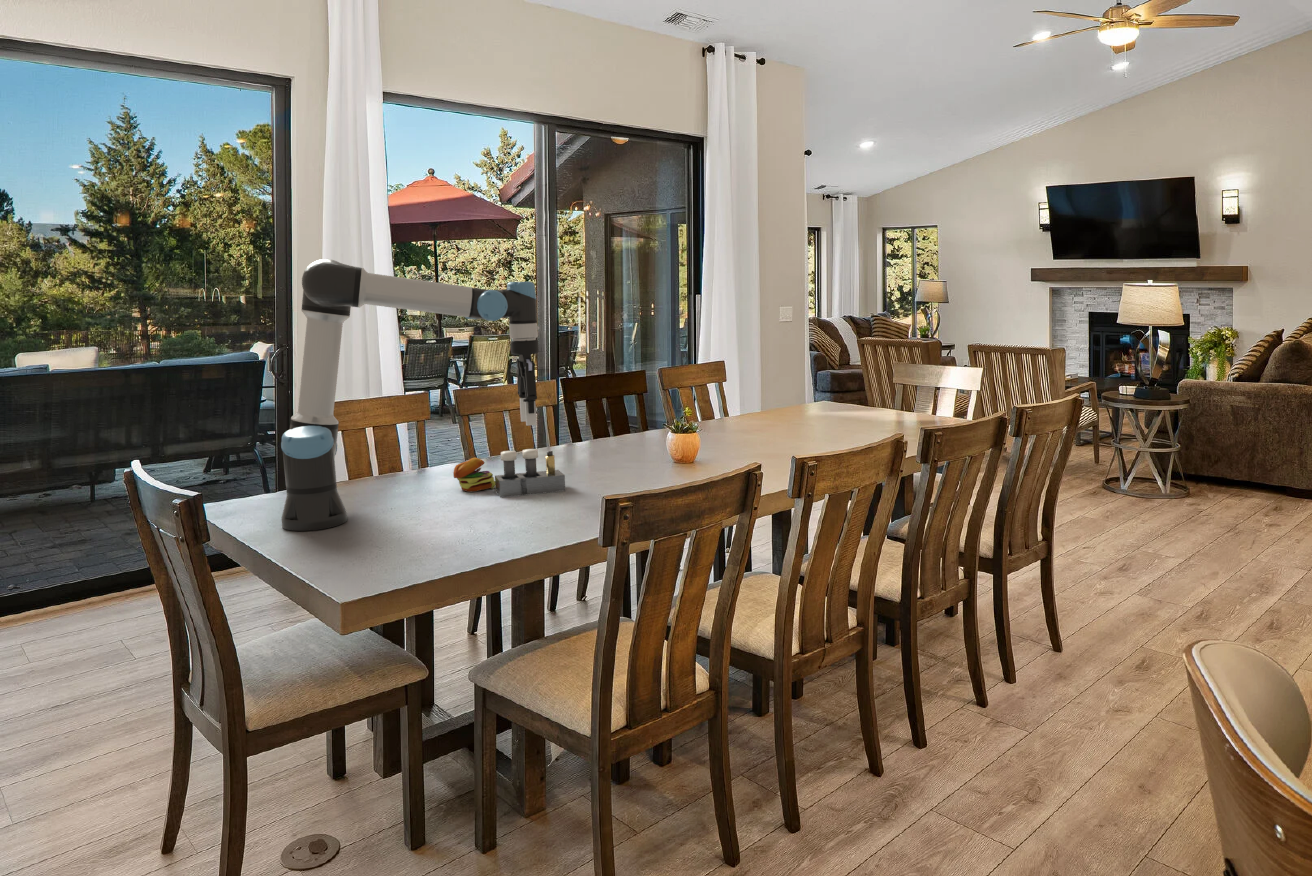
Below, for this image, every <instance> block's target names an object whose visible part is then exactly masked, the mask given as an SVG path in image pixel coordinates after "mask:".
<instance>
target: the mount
mask: <svg viewBox="0 0 1312 876" xmlns="http://www.w3.org/2000/svg"><path fill="white" fill-rule="evenodd" d="M565 476H566V475H565V474H564V473H563V472H562V471H561V470H560V469H555V474H547V472H546V470H541V471H539V470H538V471H537V475H532V476H528V475H526V472H520V473H515V477H511V478H506V477H504V474H498V475H497V474H496V475H494V481H495V487H494V488H495V492H496V494H497V495H498V496H499V498H508V497H518V496H519V497H521V496H529V495H538V494H547V493H558V492H565V491H566V478H565Z"/></svg>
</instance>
